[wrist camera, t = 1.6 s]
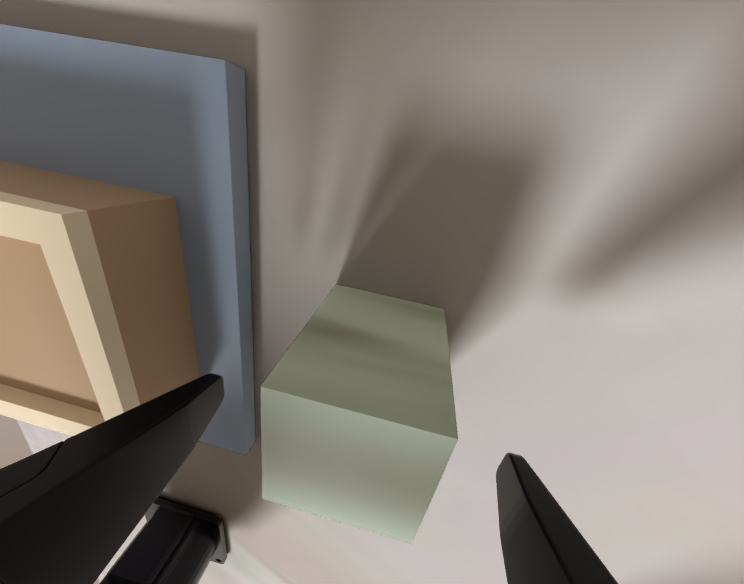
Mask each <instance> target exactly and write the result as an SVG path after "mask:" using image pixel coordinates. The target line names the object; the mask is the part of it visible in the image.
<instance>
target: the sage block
mask: <svg viewBox="0 0 744 584" xmlns="http://www.w3.org/2000/svg"><path fill="white" fill-rule="evenodd" d="M260 392H261V456H262V499H265V500H268V501H271V502H275V503H278V504H281V505H284V506H288V507H291V508H294V509H298V510H301V511H304V512H307V513H311V514H314V515H317V516H321V517H324V518H327V519H330V520H334V521H337V522H340V523H343V524H347V525H350V526H353V527H357V528H360V529H363V530H366V531H370V532H373V533H376V534H380V535H383V536H386V537H389V538H393V539H396V540H399V541H402V542H406V543H409V544H412V542H413V540H414V538H415V535H416V533H417V531H418V529H419V526H420V524H421V522H422V520H423V517H424V515H425V513H426V511H427V508H428V506H429V504H430V502H431V499H432V497H433V495H434V493H435V490H436V488H437V486H438V483H439V481H440V479H441V477H442V474H443V472H444V470H445V468H446V465H447V463H448V461H449V459H450V456H451V454H452V452H453V450H454V447H455V445H456V443H457V441H458V434H457V425H456V415H455V405H454V395H453V385H452V375H451V366H450V356H449V346H448V336H447V326H446V316H445V309H443V308H439V307H435V306H430V305H426V304H421V303H417V302H413V301H408V300H404V299H399V298H395V297H391V296H386V295H382V294H377V293H373V292H368V291H364V290H360V289H355V288H351V287H346V286H342V285H338V284H336V285H335V286H334V288H333V289H332V290H331V292H330V293H329V295H328V296H327V297H326V299H325V300H324V301H323V303H322V304H321V305H320V307H319V308H318V309H317V311H316V312H315V313H314V315H313V316H312V317H311V319H310V320H309V322H308V323H307V324H306V326H305V327H304V328H303V330H302V331H301V332H300V334H299V335H298V336H297V338H296V339H295V340H294V342H293V343H292V345H291V346H290V347H289V349H288V350H287V351H286V353H285V354H284V355H283V357H282V358H281V359H280V361H279V362H278V363H277V365H276V366H275V367H274V369H273V370H272V372H271V373H270V374H269V376H268V377H267V378H266V380H265V381H264V382H263V384H262V385H261V386H260Z"/></svg>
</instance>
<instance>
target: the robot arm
mask: <svg viewBox="0 0 744 584" xmlns="http://www.w3.org/2000/svg"><path fill="white" fill-rule="evenodd" d="M224 395H225V392H224V381H223V377H222V376H221V375H217V374H214V373H208V374H206V375H203V376H201V377H199V378H197V379H195V380H193V381H191V382H188V383H186V384H184V385H182V386H180V387H178V388H176V389H173V390H171V391H169V392H167V393H165V394H163V395H160V396H158V397H156V398H154V399H152V400H150V401H148V402H145V403H143V404H141V405H139V406H137V407H135V408H132V409H130V410H128V411H126V412H124V413H122V414H120V415H117V416H115V417H113V418H111V419H109V420H107V421H105V422H102V423H100V424H98V425H96V426H94V427H92V428H89V429H87V430H85V431H83V432H81V433H79V434H77V435H74V436H72V437H70V438H68V439H66V440H65V441H64V442H63V441H62V442H59V443H57V444H55V445H53V446H51V447H48V448H46V449H44V450H42V451H40V452H37V453H35V454H33V455H31V456H29V457H26V458H24V459H22V460H20V461H18V462H15V463H13V464H11V465H8V466H6V467H4V468H1V469H0V584H93V583H94V582H95V581H96V579H97V578H98V577H99V575H100V574H101V573H102V571H103V570H104V569H105V567H106V566H107V565H108V563H109V562H110V560H111V559H112V558H113V556H114V555H115V554H116V552H117V551H118V550H119V548H120V547H121V546H122V544H123V543H124V542H125V540H126V539H127V538H128V536H129V535H130V534H131V532H132V531H133V530H134V528H135V527H136V525H137V524H138V523H139V521H140V520H141V519H142V517H143V516H144V515H145V517H146V520H147V522H146V524H145V525H144V526H143V528H142V529H141V530H140V531H139V533H138V534H137V535H136V537H135V538H134V539H133V540H132V542H131V543H130V544H129V546H128V547H127V548H126V549H125V551H124V552H123V553H122V555H121V556H120V557H119V558H118V560H117V561H116V562H115V564H114V565H113V566H112V568H111V569H110V570H109V571H108V573H107V575H106V576H105V577H104V579H103V580H102V581H101V582H100V584H198V582H199V580H200V579H201V577H202V575H203V573H204V571H205V569H206V568H207V566H208V564H209V562H210V561H213V562H216V563H220V564H224V562H225V560H226V558H227V551H226V543H225V535H224V528H223V521H222V520H221V519H220V518H219V517H217V516H214V515H211V514H208V513H205V512H201V511H198V510H195V509H192V508H189V507H186V506H182V505H179V504H176V503H173V502H170V501H166V500H163V499H160V498H157V497H158V496H159V494H160V493H161V492H162V490H163V489H164V488H165V486H166V485H167V484H168V482H169V481H170V480H171V478H172V477H173V476H174V474H175V473H176V472H177V470H178V469H179V468H180V466H181V465H182V464H183V462H184V461H185V459H186V458H187V457H188V455H189V454H190V453H191V451H192V450H193V448H194V447H195V445H196V444H197V442H198V441H199V439H200V438H201V436H202V434H203V433H204V431H205V429H206V428H207V426H208V424H209V423H210V421H211V419H212V418H213V416H214V415H215V413H216V411H217V410H218V408H219V406H220V405H221V403H222V401H223V399H224ZM496 483H497V497H498V512H499V527H500V538H501V545H502V551H503V557H504V564H505V570H506V576H507V582H508V584H618V583H617V581H616V580H615V579H614V577H613V576H612V575H611V573H610V572H609V571H608V569H607V568H606V567H605V565H604V564H603V563H602V561H601V560H600V559H599V557H598V556H597V555H596V553H595V552H594V551H593V549H592V548H591V547H590V545H589V544H588V543H587V541H586V540H585V539H584V537H583V536H582V535H581V533H580V532H579V531H578V529H577V528H576V527H575V525H574V524H573V523H572V521H571V520H570V519H569V517H568V516H567V515H566V513H565V512H564V511H563V509H562V508H561V507H560V505H559V504H558V503H557V501H556V500H555V499H554V497H553V496H552V495H551V493H550V492H549V491H548V489H547V488H546V487H545V485H544V484H543V483H542V481H541V480H540V479H539V477H538V476H537V475H536V473H535V472H534V471H533V469H532V468H531V467H530V465H529V464H528V463H527V461H526V460H525V459H524V458H523V457H522V456H520V455H516V454H513V453H507V454H506V455H505V457H504V458H503V460H502V462H501V464H500V465H499V467H498V469H497V473H496Z"/></svg>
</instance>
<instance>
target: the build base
mask: <svg viewBox="0 0 744 584" xmlns="http://www.w3.org/2000/svg"><path fill="white" fill-rule="evenodd" d="M208 373H214V374H217V375H221V376H222V377H223V381H224V392H225V395H224V399H223V401H222V403H221V405H220V406H219V408H218V410H217V411H216V413H215V415H214V416H213V418H212V419H211V421H210V423H209V424H208V426H207V428H206V429H205V431H204V433H203V434H202V436H201V438H200V439H199V441H198V442H202V443H205V444H209V445H212V446H215V447H219V448H222V449H226V450H229V451H233V452H236V453H239V454H243V455H247V453H248V452H249V450H250V448H251V447H252V445H253V443H254V442H255V440H256V435H255V401H254V366H253V332H252V297H251V263H250V228H249V194H248V159H247V125H246V90H245V69H243V68H241V67H238V66H236V65H234V64H232V63H230V62H228V61H226V60H221V59H215V58H209V57H203V56H196V55H190V54H184V53H178V52H171V51H165V50H159V49H153V48H146V47H140V46H134V45H128V44H121V43H115V42H109V41H103V40H96V39H90V38H84V37H78V36H71V35H65V34H59V33H53V32H46V31H40V30H34V29H28V28H21V27H15V26H9V25H3V24H0V414H1V415H4V416H8V417H11V418H14V419H18V420H21V421H24V422H27V423H31V424H34V425H37V426H41V427H44V428H47V429H51V430H54V431H57V432H60V433H64V434H67V435H70V436H74V435H77V434H79V433H81V432H83V431H85V430H87V429H89V428H92V427H94V426H96V425H98V424H100V423H102V422H105V421H107V420H109V419H111V418H113V417H115V416H117V415H120V414H122V413H124V412H126V411H128V410H130V409H132V408H135V407H137V406H139V405H141V404H143V403H145V402H148V401H150V400H152V399H154V398H156V397H158V396H160V395H163V394H165V393H167V392H169V391H171V390H173V389H176V388H178V387H180V386H182V385H184V384H186V383H188V382H191V381H193V380H195V379H197V378H199V377H201V376H203V375H206V374H208Z"/></svg>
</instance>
